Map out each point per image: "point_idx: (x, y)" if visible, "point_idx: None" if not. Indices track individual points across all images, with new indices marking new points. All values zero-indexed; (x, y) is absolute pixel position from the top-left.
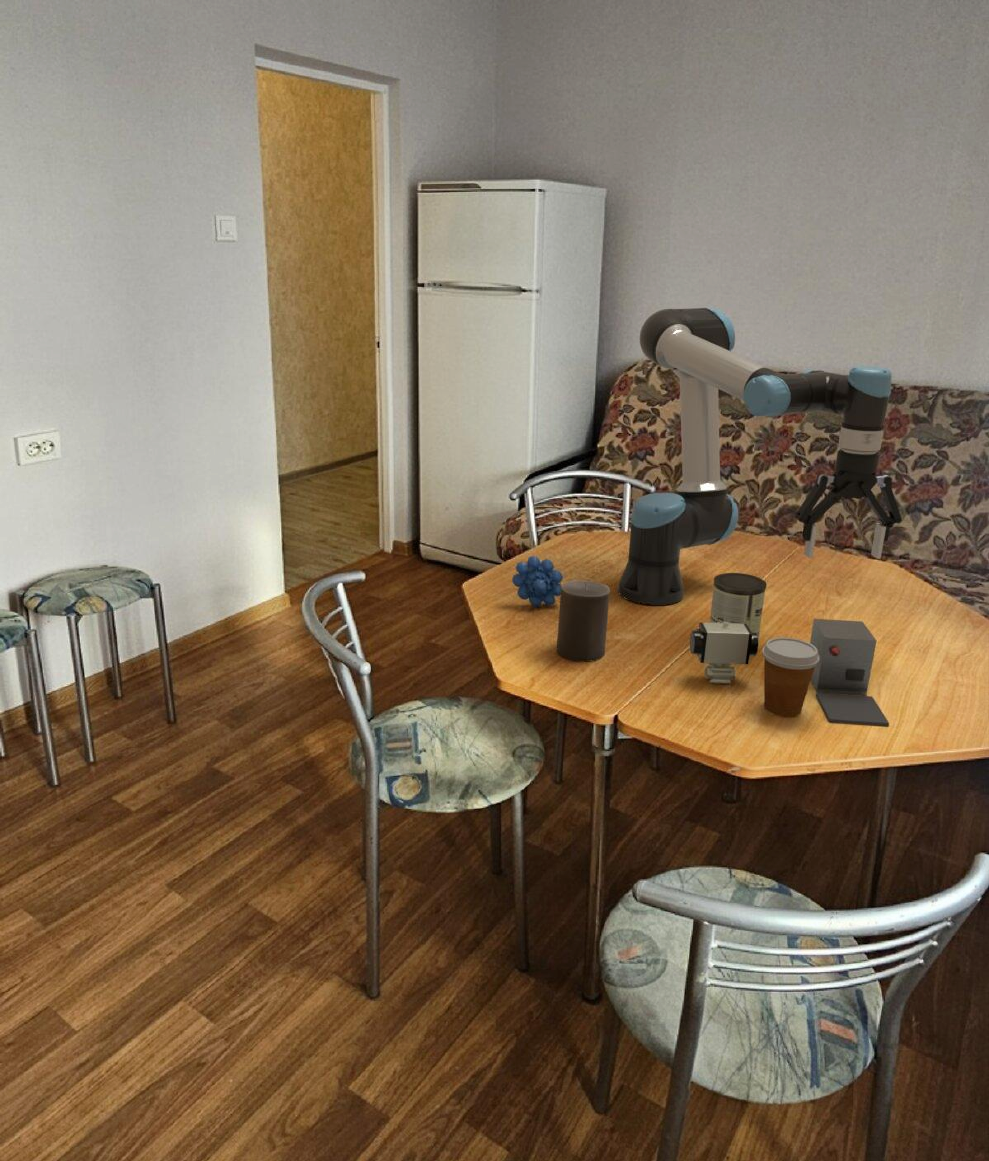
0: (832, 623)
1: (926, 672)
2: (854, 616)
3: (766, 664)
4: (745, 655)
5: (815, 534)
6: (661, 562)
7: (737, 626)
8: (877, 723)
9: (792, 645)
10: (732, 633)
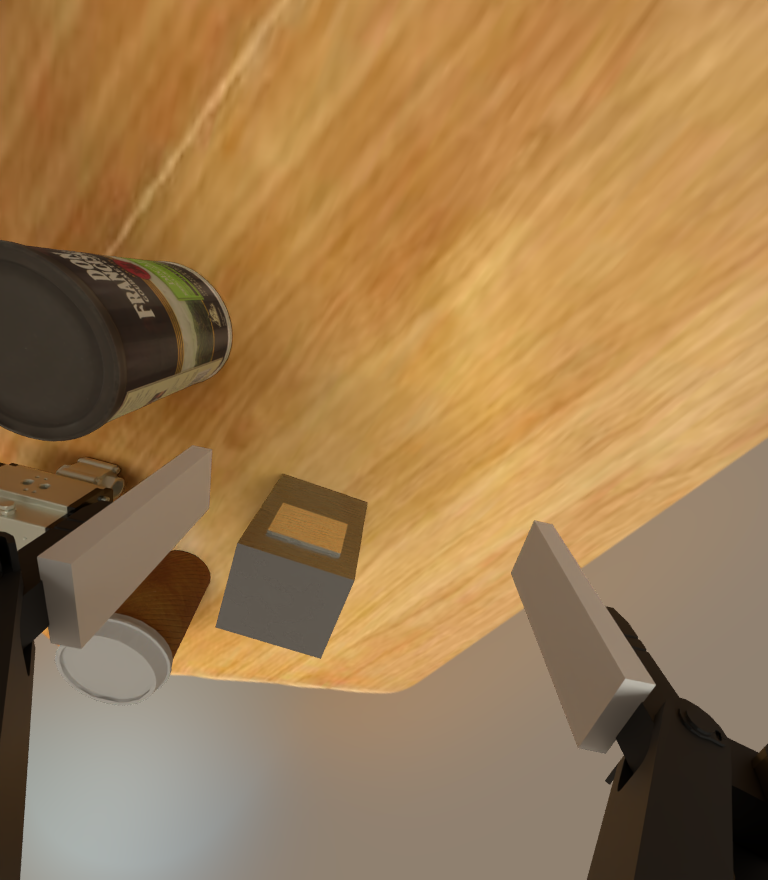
0: (271, 574)
1: (511, 525)
2: (612, 204)
3: None
4: None
5: (123, 596)
6: None
7: (26, 539)
8: None
9: (116, 657)
10: None
